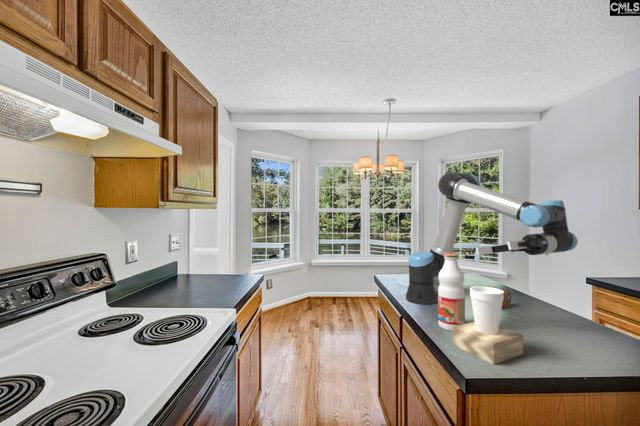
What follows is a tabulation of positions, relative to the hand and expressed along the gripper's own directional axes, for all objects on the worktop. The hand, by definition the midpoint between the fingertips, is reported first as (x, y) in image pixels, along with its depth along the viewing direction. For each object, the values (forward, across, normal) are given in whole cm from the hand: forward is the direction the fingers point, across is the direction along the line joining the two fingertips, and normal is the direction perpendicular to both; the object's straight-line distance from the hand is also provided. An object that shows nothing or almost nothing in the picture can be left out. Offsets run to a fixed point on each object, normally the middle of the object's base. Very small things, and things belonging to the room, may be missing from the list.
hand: (492, 248), depth 102 cm
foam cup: (+9, +1, -26) cm, 27 cm away
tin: (-28, +32, -25) cm, 50 cm away
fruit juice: (+7, +20, -27) cm, 35 cm away
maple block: (+9, +2, -31) cm, 33 cm away
